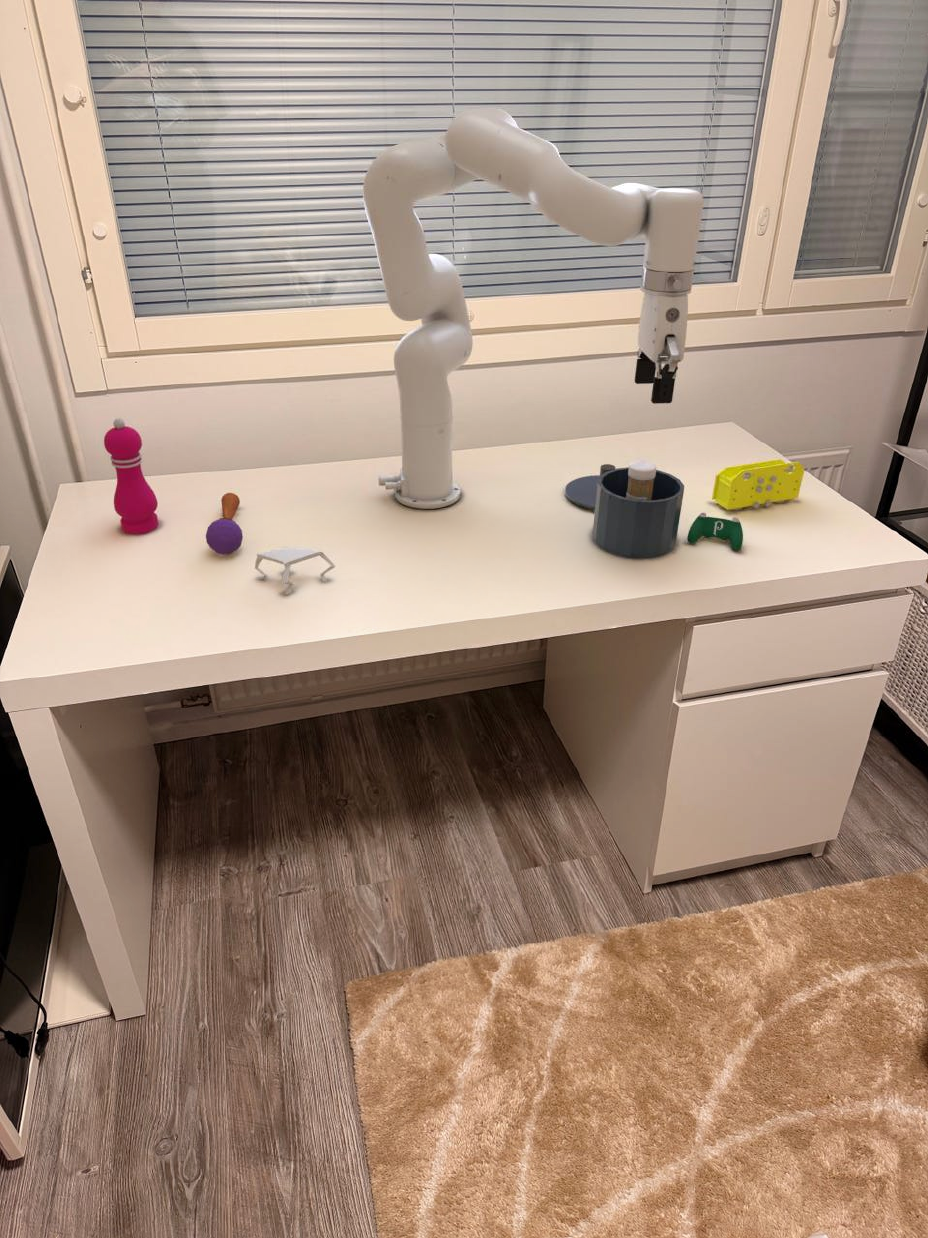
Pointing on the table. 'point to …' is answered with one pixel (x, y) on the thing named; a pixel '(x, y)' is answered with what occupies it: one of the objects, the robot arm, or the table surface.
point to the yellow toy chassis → (757, 484)
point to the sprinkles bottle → (641, 480)
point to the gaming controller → (717, 530)
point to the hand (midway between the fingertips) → (652, 392)
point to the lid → (586, 488)
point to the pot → (637, 516)
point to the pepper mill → (130, 480)
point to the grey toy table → (290, 561)
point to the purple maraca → (225, 528)
